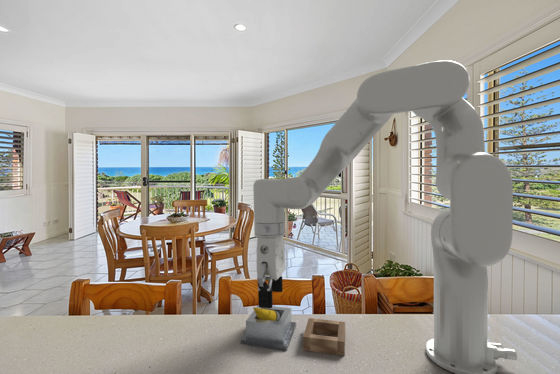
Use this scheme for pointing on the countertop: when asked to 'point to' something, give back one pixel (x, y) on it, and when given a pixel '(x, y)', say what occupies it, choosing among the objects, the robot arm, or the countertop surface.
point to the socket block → (324, 342)
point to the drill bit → (267, 314)
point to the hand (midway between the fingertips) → (271, 298)
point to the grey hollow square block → (269, 330)
